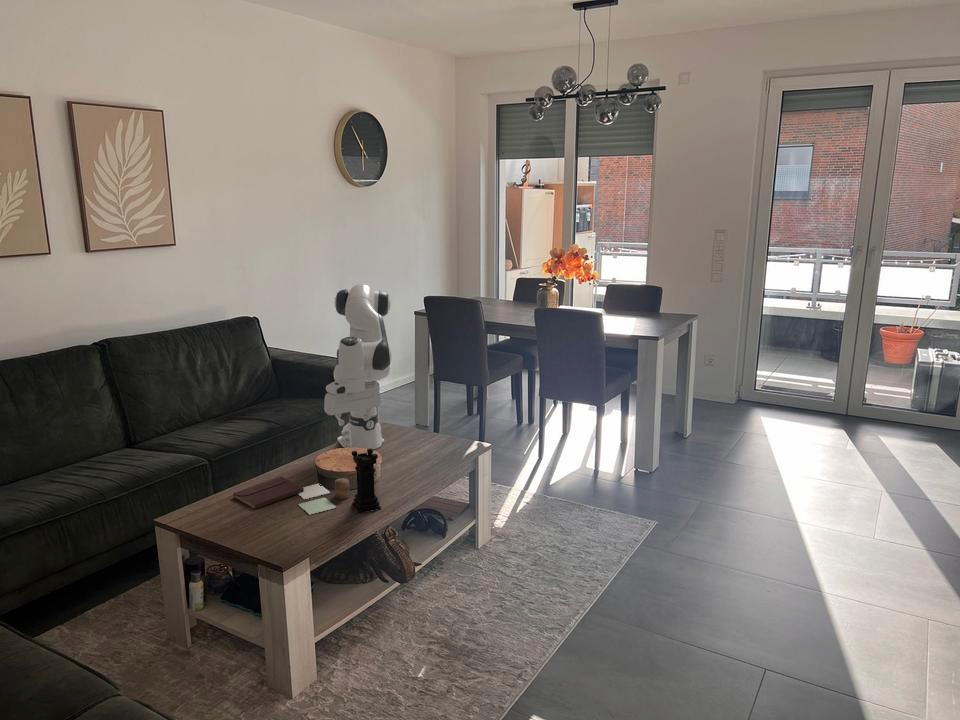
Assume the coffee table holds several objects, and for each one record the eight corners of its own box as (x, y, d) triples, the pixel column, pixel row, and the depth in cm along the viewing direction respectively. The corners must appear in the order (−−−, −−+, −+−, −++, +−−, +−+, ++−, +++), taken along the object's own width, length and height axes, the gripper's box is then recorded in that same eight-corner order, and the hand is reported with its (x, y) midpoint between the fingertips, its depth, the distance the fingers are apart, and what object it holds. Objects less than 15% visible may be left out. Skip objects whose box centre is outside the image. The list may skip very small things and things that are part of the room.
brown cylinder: (333, 495, 257) (332, 480, 255) (345, 492, 260) (345, 477, 258) (339, 500, 253) (338, 484, 252) (351, 497, 256) (351, 481, 254)
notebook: (304, 491, 259) (303, 486, 259) (255, 509, 245) (254, 504, 245) (281, 480, 269) (281, 475, 268) (233, 497, 255) (233, 492, 254)
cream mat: (293, 490, 261) (293, 489, 261) (319, 484, 267) (319, 483, 267) (304, 499, 253) (304, 498, 253) (330, 493, 259) (330, 492, 259)
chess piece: (374, 500, 253) (372, 447, 248) (380, 509, 246) (379, 455, 241) (352, 504, 250) (350, 451, 245) (358, 513, 243) (356, 458, 238)
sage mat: (298, 505, 249) (298, 504, 249) (324, 498, 254) (324, 497, 254) (309, 515, 241) (309, 514, 241) (336, 508, 247) (336, 507, 246)
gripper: (375, 378, 252) (376, 415, 255) (321, 386, 240) (323, 425, 243) (383, 381, 247) (384, 419, 250) (329, 391, 235) (331, 430, 238)
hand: (353, 422), depth 246 cm, fingers open, 8 cm apart
